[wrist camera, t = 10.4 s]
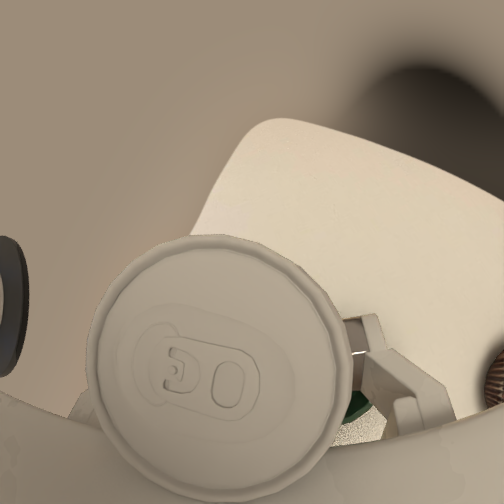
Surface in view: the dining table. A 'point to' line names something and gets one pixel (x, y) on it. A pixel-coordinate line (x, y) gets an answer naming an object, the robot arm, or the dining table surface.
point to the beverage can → (218, 368)
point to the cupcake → (495, 382)
